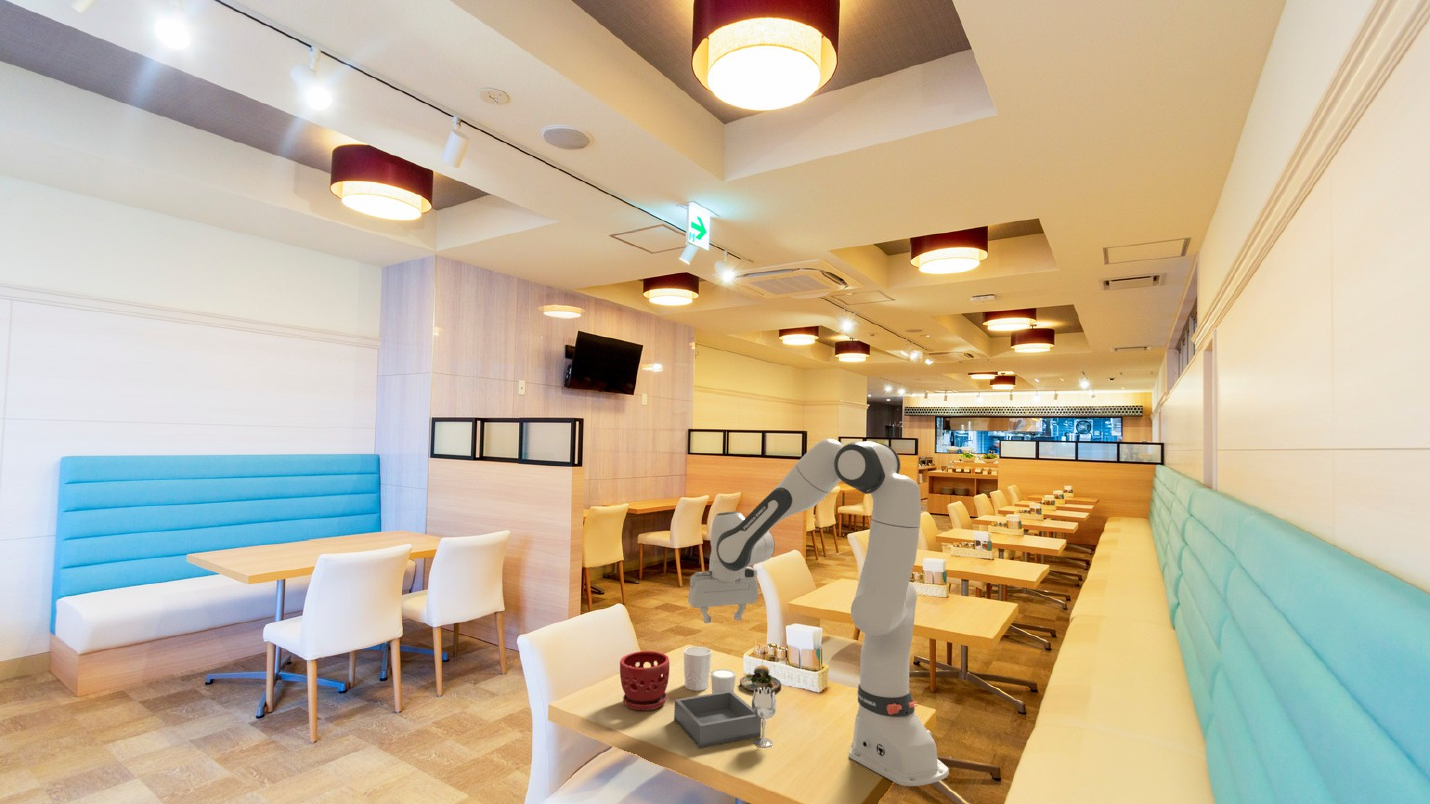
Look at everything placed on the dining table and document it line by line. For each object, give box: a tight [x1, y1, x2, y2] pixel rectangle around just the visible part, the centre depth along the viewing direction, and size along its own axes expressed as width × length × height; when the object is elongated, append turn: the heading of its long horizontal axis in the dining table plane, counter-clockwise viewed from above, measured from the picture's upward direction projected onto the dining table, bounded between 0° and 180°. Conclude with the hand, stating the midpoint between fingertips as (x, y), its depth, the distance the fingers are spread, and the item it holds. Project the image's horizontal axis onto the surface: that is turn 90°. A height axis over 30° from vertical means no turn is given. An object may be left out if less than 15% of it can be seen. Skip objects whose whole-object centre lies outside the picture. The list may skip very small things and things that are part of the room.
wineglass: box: [751, 687, 777, 748], centre depth 153 cm, size 6×6×12 cm
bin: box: [673, 691, 762, 749], centre depth 160 cm, size 16×16×5 cm
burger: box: [739, 659, 782, 692], centre depth 187 cm, size 12×12×8 cm
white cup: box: [683, 646, 712, 692], centre depth 186 cm, size 8×8×10 cm
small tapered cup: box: [710, 668, 737, 694], centre depth 177 cm, size 7×7×7 cm
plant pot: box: [619, 650, 670, 711], centre depth 173 cm, size 13×13×12 cm
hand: (722, 621), depth 178 cm, fingers open, 8 cm apart
